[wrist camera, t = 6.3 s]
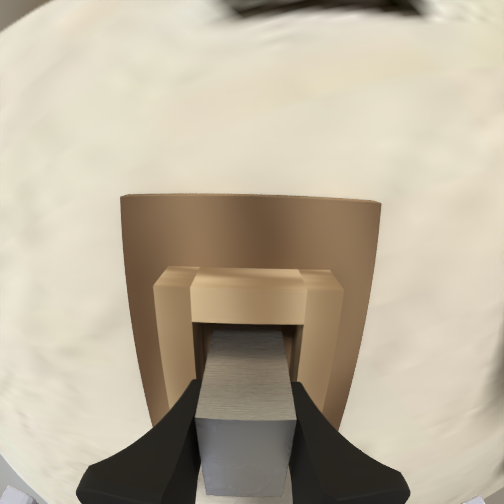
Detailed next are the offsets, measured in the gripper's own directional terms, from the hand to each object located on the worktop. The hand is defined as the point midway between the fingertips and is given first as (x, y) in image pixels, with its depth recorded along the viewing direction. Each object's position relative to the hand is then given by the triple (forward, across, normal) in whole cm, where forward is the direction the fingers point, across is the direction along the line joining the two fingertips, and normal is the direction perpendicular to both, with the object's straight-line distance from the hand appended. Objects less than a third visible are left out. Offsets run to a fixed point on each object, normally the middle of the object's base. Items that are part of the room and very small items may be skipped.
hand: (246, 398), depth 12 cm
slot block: (+4, 0, 0) cm, 4 cm away
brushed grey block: (+3, 0, 0) cm, 3 cm away
